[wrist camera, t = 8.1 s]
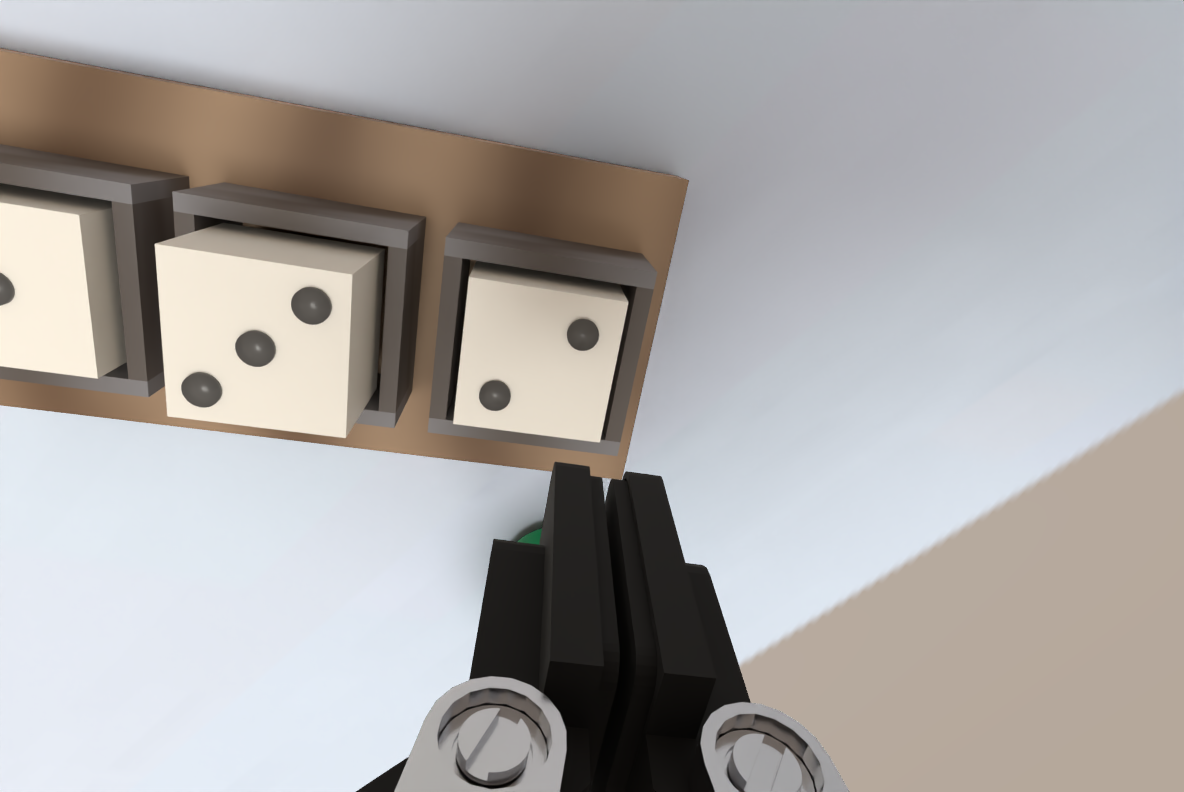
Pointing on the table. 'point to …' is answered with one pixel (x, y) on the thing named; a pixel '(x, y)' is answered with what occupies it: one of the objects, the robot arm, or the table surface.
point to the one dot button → (59, 284)
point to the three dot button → (269, 328)
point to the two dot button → (538, 352)
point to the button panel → (337, 238)
